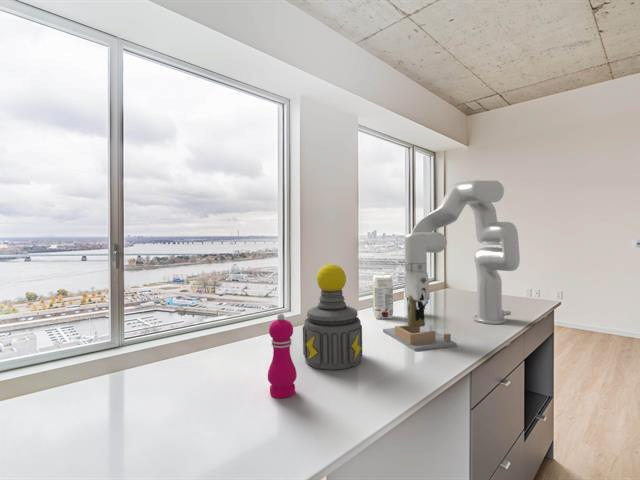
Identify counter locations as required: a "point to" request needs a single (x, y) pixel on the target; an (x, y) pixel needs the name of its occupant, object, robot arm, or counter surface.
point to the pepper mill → (281, 359)
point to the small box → (406, 306)
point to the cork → (411, 317)
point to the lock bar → (427, 327)
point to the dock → (419, 338)
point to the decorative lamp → (332, 325)
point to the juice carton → (383, 297)
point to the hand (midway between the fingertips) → (416, 318)
